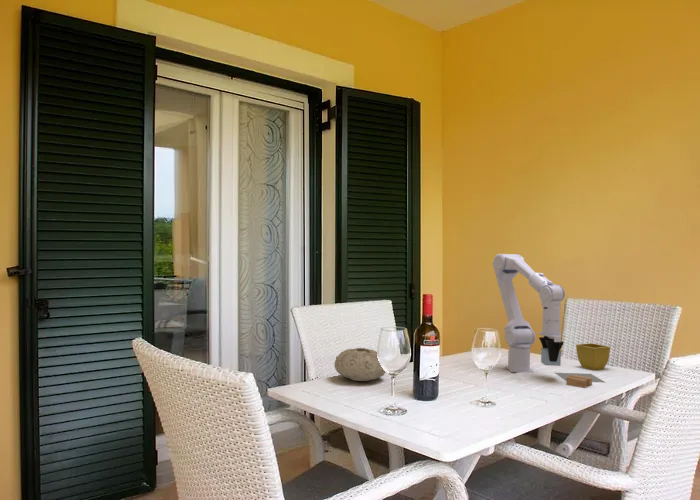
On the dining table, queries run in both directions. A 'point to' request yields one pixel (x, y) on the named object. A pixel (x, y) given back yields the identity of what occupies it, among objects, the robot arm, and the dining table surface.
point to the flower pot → (593, 355)
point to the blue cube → (546, 360)
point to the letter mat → (565, 375)
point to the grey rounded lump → (359, 364)
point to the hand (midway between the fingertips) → (550, 359)
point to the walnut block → (579, 381)
